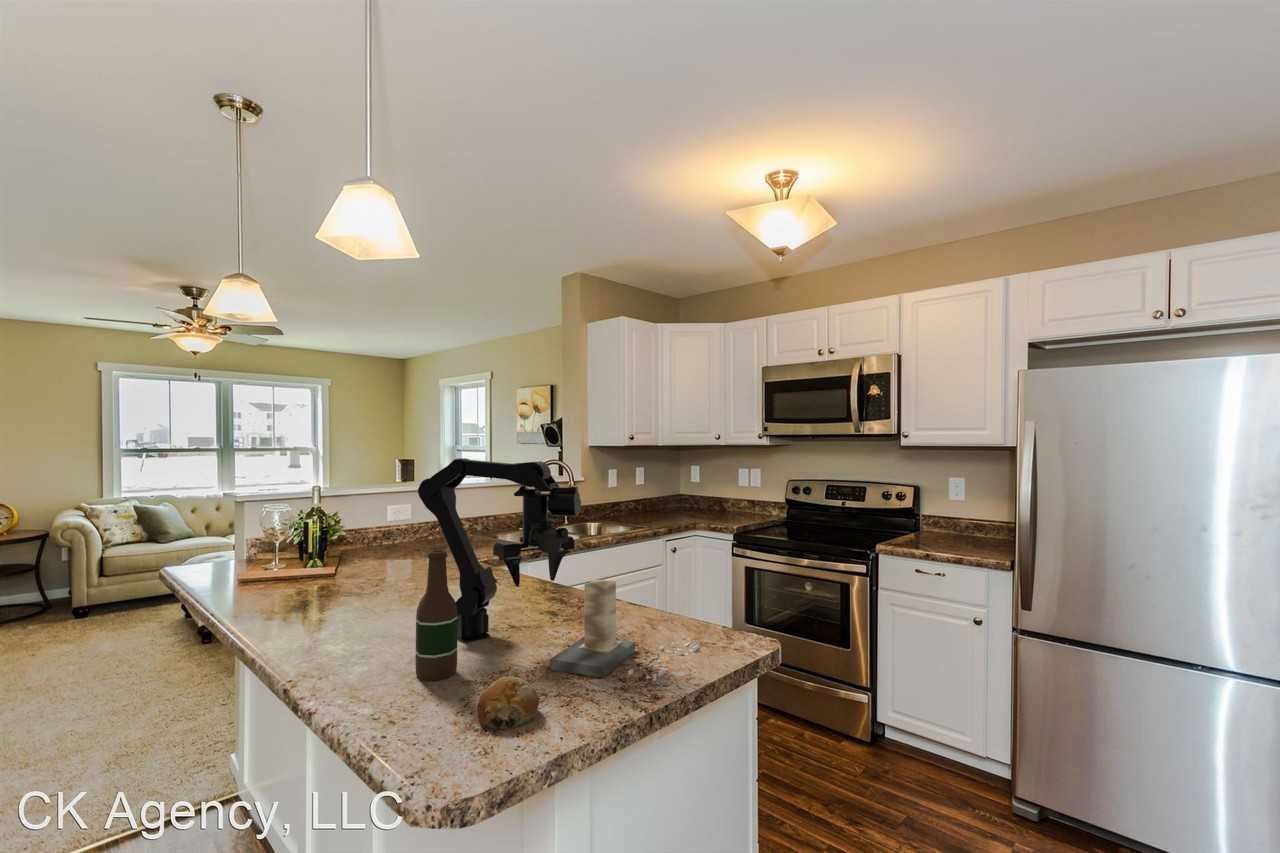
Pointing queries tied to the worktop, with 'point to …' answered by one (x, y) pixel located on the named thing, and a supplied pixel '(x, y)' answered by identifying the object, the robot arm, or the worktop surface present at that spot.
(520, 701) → the bread roll
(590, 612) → the birch pillar
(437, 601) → the beer bottle
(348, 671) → the worktop surface
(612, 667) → the slate plinth
